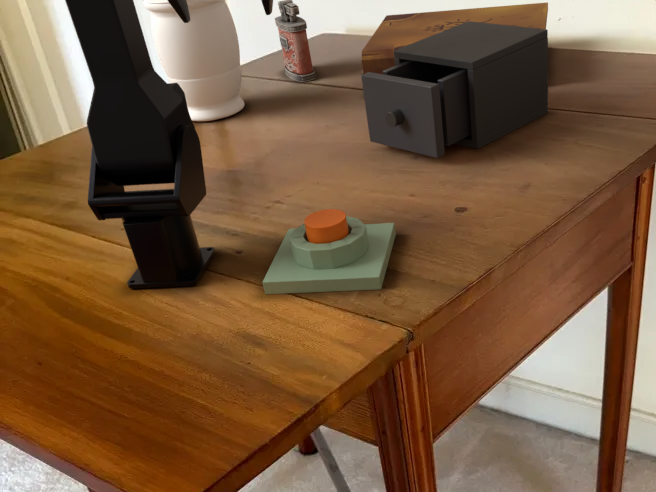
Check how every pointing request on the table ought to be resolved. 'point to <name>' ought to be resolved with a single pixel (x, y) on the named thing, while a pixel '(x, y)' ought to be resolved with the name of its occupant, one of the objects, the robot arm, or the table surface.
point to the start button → (326, 226)
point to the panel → (332, 260)
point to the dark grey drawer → (418, 106)
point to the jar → (200, 55)
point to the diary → (440, 28)
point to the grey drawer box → (492, 73)
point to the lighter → (294, 42)
